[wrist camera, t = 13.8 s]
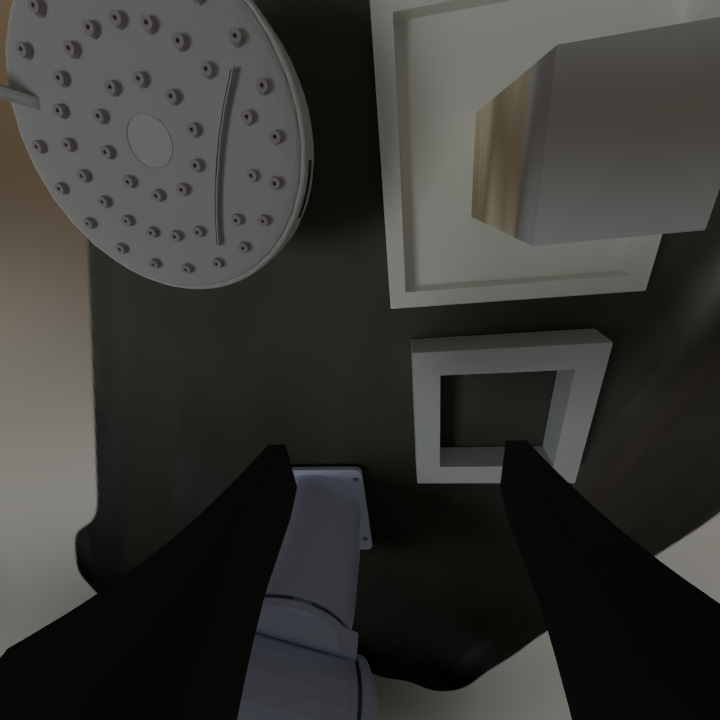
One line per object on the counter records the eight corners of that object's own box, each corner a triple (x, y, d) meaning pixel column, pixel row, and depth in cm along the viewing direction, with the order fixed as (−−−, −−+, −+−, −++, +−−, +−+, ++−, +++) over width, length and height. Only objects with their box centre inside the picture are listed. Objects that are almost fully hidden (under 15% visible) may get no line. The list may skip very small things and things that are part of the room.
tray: (626, 282, 17) (645, 290, 16) (391, 299, 19) (390, 308, 17) (718, -63, 11) (760, -94, 10) (371, 4, 13) (368, -15, 12)
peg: (561, 207, 15) (704, 230, 8) (471, 216, 16) (532, 246, 9) (579, 97, 13) (783, 5, 6) (475, 113, 14) (557, 44, 7)
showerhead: (-120, -201, 7) (334, -28, 8) (125, -20, 13) (362, 67, 14) (-10, 244, 12) (270, 331, 12) (134, 222, 18) (313, 279, 18)
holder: (562, 462, 23) (574, 483, 21) (415, 463, 24) (417, 483, 23) (594, 328, 18) (613, 342, 17) (410, 339, 20) (412, 353, 18)
